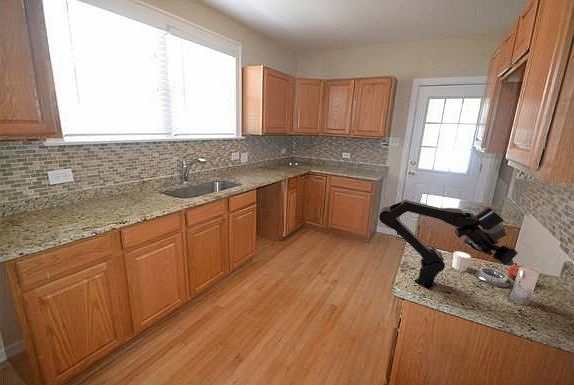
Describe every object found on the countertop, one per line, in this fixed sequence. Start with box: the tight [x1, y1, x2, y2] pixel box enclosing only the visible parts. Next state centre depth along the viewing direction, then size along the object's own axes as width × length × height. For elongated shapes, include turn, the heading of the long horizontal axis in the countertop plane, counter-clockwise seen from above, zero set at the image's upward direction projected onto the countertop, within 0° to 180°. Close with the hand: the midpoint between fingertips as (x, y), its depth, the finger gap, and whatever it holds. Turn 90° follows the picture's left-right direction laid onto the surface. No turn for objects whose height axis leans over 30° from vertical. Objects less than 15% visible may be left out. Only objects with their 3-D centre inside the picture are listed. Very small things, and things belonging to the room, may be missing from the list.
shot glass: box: [451, 250, 472, 272], centre depth 121 cm, size 7×7×7 cm
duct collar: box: [474, 266, 511, 289], centre depth 114 cm, size 12×12×3 cm
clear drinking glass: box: [509, 265, 540, 306], centre depth 99 cm, size 6×6×13 cm
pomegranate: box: [507, 262, 523, 281], centre depth 113 cm, size 7×7×10 cm
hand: (501, 259), depth 101 cm, fingers open, 9 cm apart
